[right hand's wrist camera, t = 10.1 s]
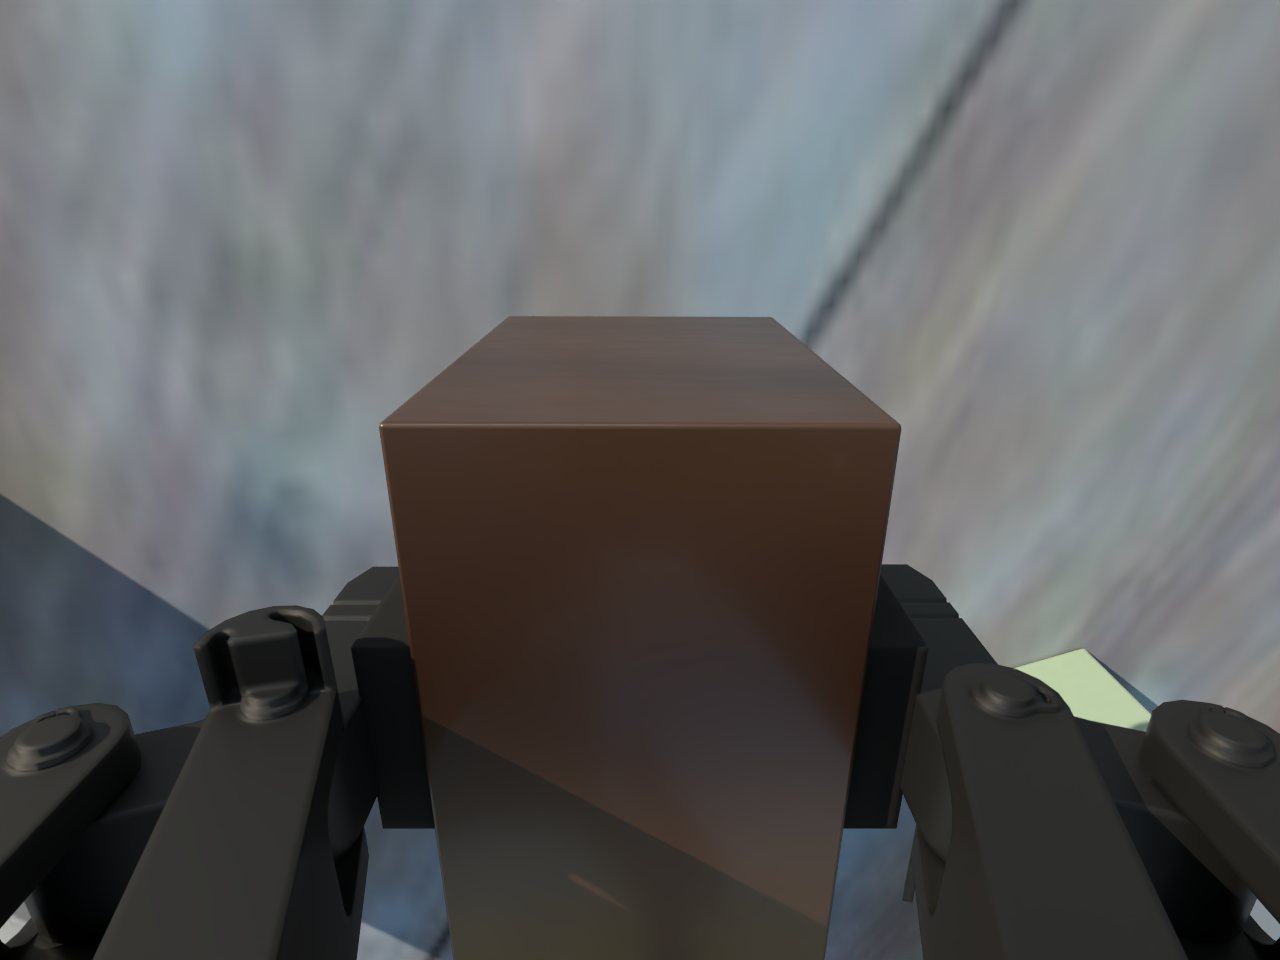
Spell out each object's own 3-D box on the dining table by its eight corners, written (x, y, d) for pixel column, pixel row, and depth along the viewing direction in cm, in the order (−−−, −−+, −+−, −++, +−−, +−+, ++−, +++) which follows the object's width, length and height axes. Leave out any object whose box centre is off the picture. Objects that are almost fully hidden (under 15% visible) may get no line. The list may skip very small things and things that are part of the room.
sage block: (1083, 646, 30) (1164, 725, 26) (1097, 733, 32) (1175, 822, 27) (969, 679, 31) (1028, 762, 26) (989, 762, 33) (1047, 854, 28)
